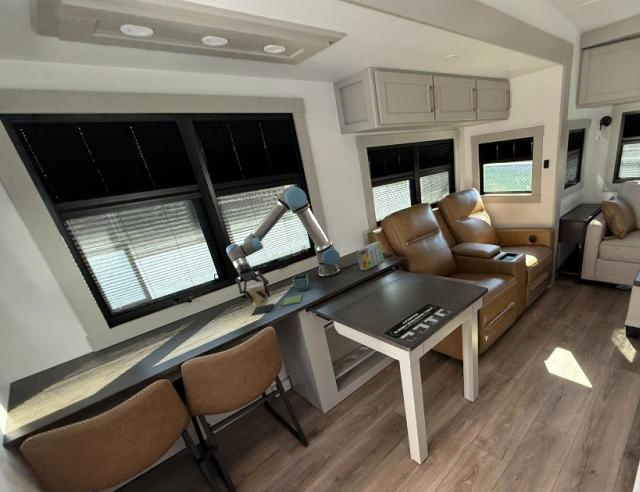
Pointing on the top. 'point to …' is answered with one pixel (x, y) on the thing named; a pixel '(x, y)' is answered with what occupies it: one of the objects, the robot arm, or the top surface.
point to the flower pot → (301, 282)
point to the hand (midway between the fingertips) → (260, 298)
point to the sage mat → (292, 300)
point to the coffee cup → (257, 293)
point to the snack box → (370, 256)
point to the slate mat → (262, 309)
